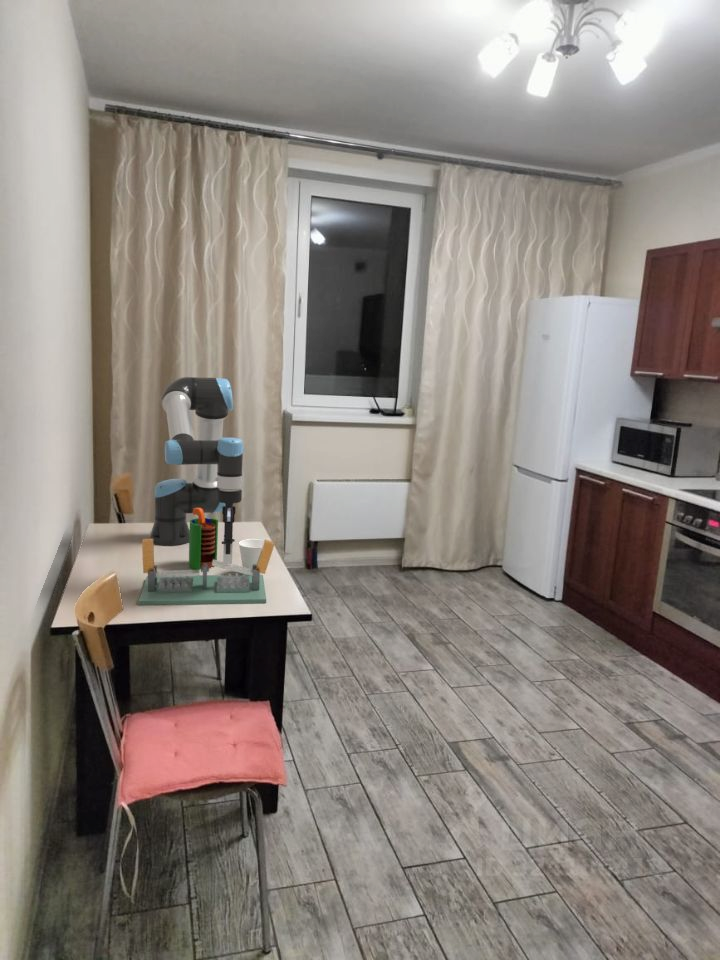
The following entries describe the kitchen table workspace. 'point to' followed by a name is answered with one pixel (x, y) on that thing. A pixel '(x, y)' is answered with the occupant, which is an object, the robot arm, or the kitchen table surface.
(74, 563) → the kitchen table surface
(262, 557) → the strap
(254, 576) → the set of grey blocks
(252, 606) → the kitchen table surface
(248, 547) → the cup
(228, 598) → the board
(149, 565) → the strap
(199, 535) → the motor
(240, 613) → the kitchen table surface
